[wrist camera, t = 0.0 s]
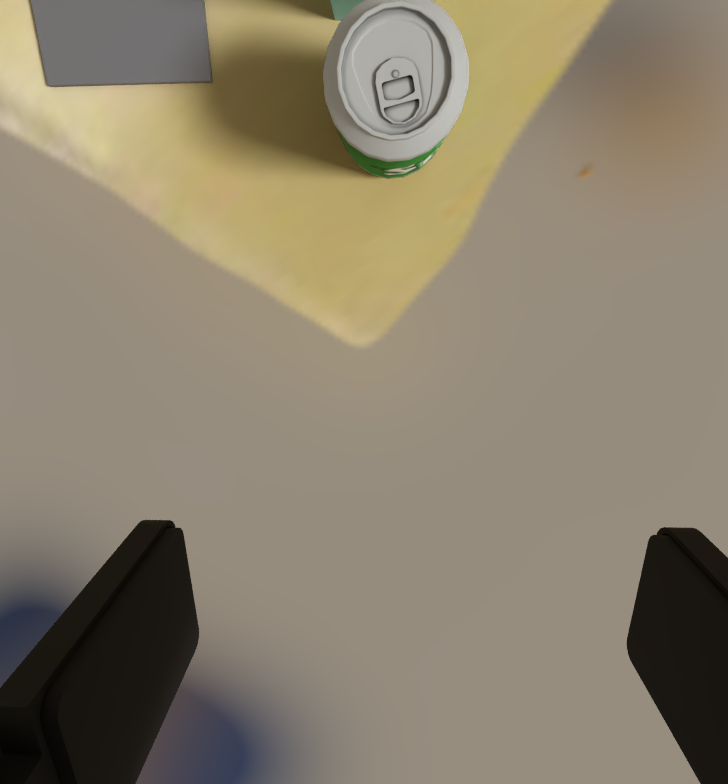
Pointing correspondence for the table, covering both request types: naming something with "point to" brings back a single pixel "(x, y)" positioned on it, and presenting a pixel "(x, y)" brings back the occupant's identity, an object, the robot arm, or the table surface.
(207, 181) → the table surface
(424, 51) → the soda can
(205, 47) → the rubber mat
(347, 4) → the teal block
